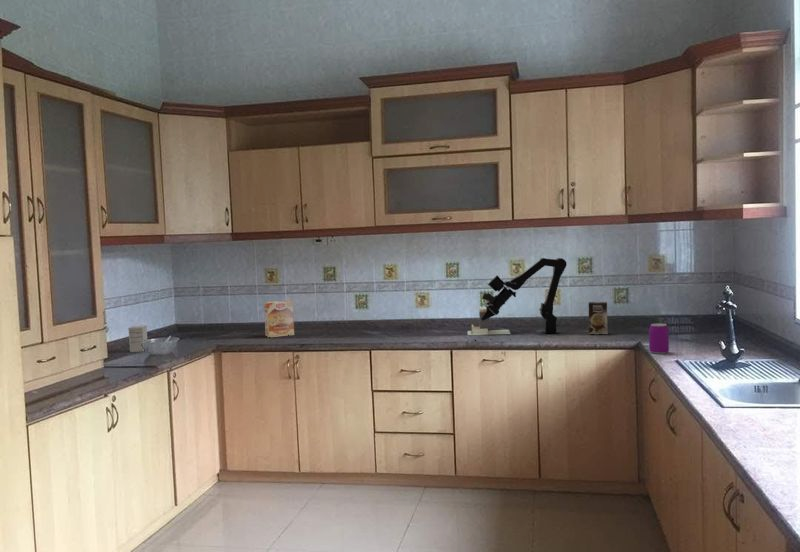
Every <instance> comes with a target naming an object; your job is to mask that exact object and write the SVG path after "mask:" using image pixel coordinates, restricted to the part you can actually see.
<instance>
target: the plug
mask: <svg viewBox="0 0 800 552" xmlns="http://www.w3.org/2000/svg"><path fill="white" fill-rule="evenodd" d="M478 311H479V312H478V315H479V327H480V329H486V328H488V331H490V330H491V328H490V327H491V324H490V322H491V321H490V318H488V319H485V320H483V321H482V320H481V319H482V317H483V316H484V314H485V313H486V311H487V309H486V308H483V309H482V308H481V309H480V308H479V309H478Z"/></svg>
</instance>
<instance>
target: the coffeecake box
mask: <svg viewBox="0 0 800 552" xmlns="http://www.w3.org/2000/svg"><path fill="white" fill-rule="evenodd" d="M293 302H294V301H293V300H290V299H288V300H276V301H266V302H263V306H264V307H263V310H264V311H263V312H264V329H265V330H264V333H265V337H266V336H267V338H269V337H271V338H278V337H288V335H289V336H295V323H294V321H295V320H294V303H293Z"/></svg>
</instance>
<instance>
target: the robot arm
mask: <svg viewBox="0 0 800 552" xmlns="http://www.w3.org/2000/svg"><path fill="white" fill-rule="evenodd" d="M544 267H552V276H551V277H552V278H551V280H550V284H549V287H548V291H547V294H546V297H545V301H544V302H541V303H540V307H539V309H538V311H539V313H540V315H541V317H542V318H543V319H544V331H541V332H542V333H544V334H549V335H550V334H559V333H560V331H557V321H558V320H557V319H558V318H557V316H556V315H554V314H553V313H554V301H555V297H556V294H557V290H558V287H559V283H560V280H561V276H562V275H563V273H564V272H565V269H566V267H567V261H566V260H565V259H564V258H561V257H558V258H555V259H551V258H545V257H542V258H540V259H539V260H538V261H537V262H536V263H534V264H533V265H532V266H530V267H528V269H526V270H525V271H524V272H523V273H521V274H519V275H517V276H514V277H513V278H511V279H510V280H509V281H508V280H507V281H504V280H502V279H501V278H500V276H499V275H496V276H495V277H493V278H492V279H491V280H490V281H489V283H488V284H487V285H488V286H489V287H490V288H491V289H492V290H493V291H495V292H499V293H497V295H495V296H494V295H492V294H491V293H489V292H488V293H487V292H484V293H483V295H482V297H481V299H482V300H483V301H484V300H486V301H487V302H486V303H485V304H486V305H485V306H486V307H485V309H487V311H486V313H485V314H484V316H483V317H482V319H481V320H482V321H483V320H485V319H488V318H489V319H490V318H492V317H494V316H497V315H499V313H500V310H501V308H502V307H503V306H504V305H506V302H508V300H509V299H510V298H512V296H513V297H514V298H516V297H517V292H516V291H518V290H519V289H520V288H521V287H522V286H523V285H524V284H525V283H526V281H528V279H530V278H531V277H533V275H535V274H536V273H537V272H538V271H540V270H541V269H542V268H544ZM513 290H514V291H513Z"/></svg>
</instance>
